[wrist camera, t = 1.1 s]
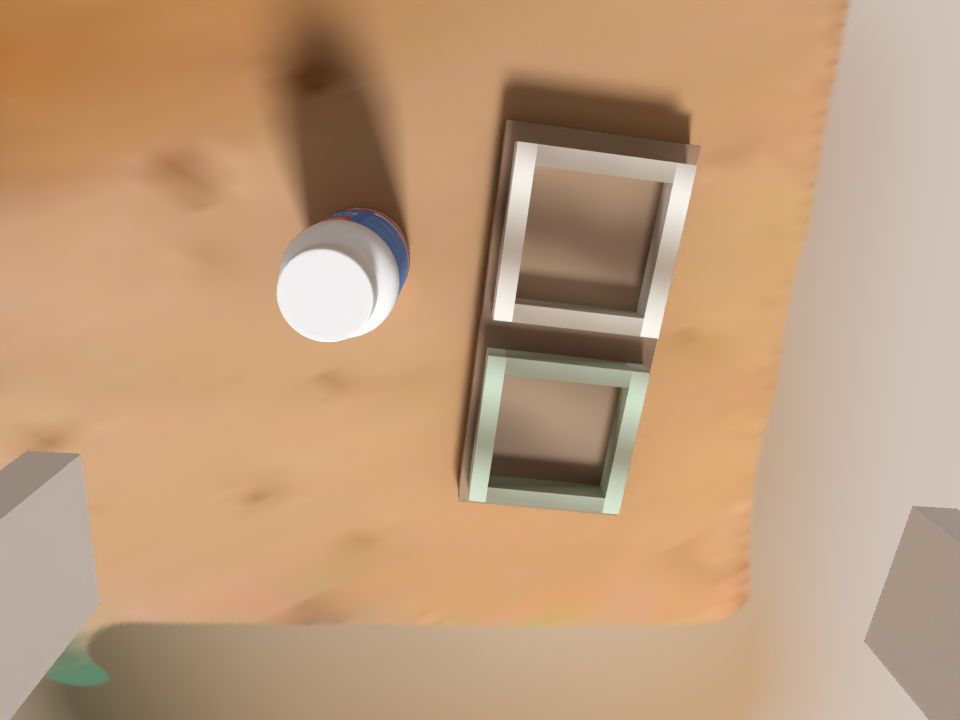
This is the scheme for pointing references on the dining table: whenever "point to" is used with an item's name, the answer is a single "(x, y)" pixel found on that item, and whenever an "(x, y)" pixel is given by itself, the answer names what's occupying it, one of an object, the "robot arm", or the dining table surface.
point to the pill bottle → (343, 275)
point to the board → (571, 314)
